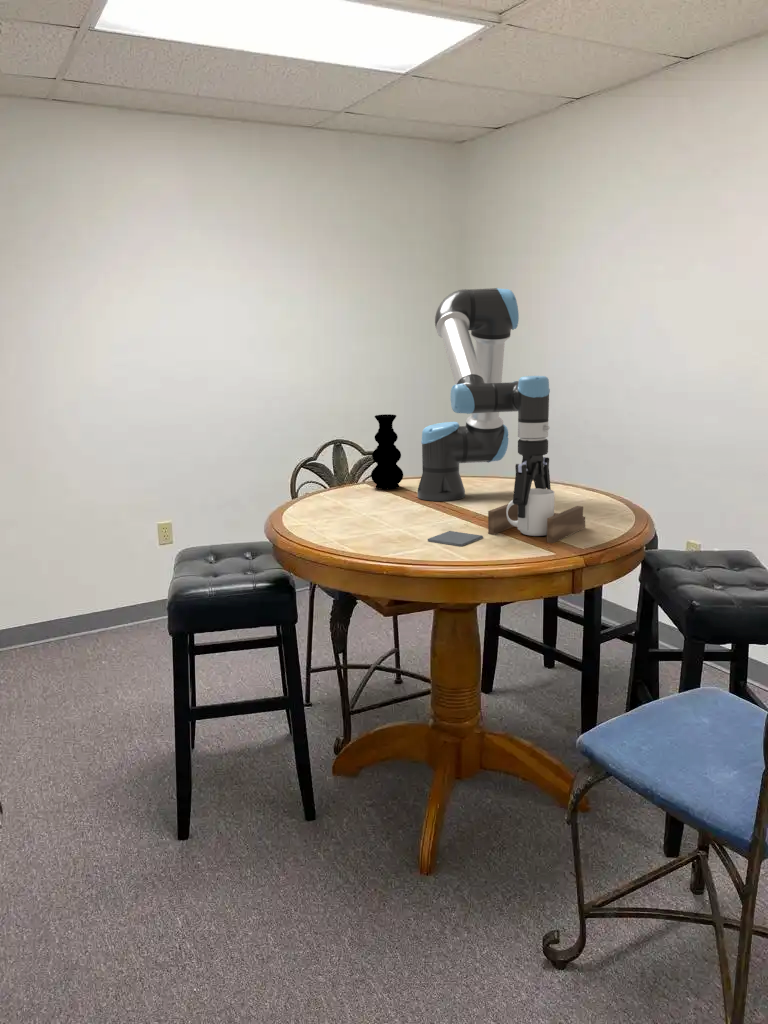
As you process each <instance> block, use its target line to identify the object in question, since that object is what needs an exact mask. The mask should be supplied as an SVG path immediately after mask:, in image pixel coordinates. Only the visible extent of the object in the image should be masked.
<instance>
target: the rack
mask: <svg viewBox="0 0 768 1024" xmlns="http://www.w3.org/2000/svg"><path fill="white" fill-rule="evenodd" d="M508 504H509V503H507V504H504V505H501V506H499V507H498V506H497V507H495V508H493V509H490V510H488V511H487V518H488V519H487V520H488V521H487V523H488V524H487V526H488V527H487V528H488V529H487V530H488V532H487V533H488V534H489V535H496V534H498V533H501V532H503V531H505V530H508V529H510V528H514V527H515V526H513V525H511V524H510V523H509V521H508V519H507V515H506V510H507V506H508ZM508 516H509V518H510V519H511V520H513V521H517V520H518V505H517V504H514V505H512V506H511V507H510V508H509V510H508ZM584 529H586V516H585V515H584V506H581V505H576V506H574V507H571V508H569V509H566V510H564V511H561V512H560V513H557V512H554V516H552V517H549V518H547V535H546V543H549V544H554V543H557V542H558V541H560V540H562V539H565V538H566V537H569V536H570V535H573V534H575V533H577V532H579V531H581V530H584Z"/></svg>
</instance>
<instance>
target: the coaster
mask: <svg viewBox="0 0 768 1024" xmlns="http://www.w3.org/2000/svg"><path fill="white" fill-rule="evenodd" d="M481 539H484V535H482V534H475V533H468V532H467V533H466V532H460V531H454V530H448V531H446V532H442V533H439V534H437V535H435V536H431V537H429V538H427V542H430V543H438V544H441V545H442V544H443V545H450V546H456V547H464V546H466V545H469V544H471V543H473V542H477V541H479V540H481Z"/></svg>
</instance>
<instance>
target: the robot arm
mask: <svg viewBox="0 0 768 1024" xmlns="http://www.w3.org/2000/svg"><path fill="white" fill-rule="evenodd" d="M519 319H520V317H519V306H518V302H517V299H516V295H515V293H514V292H513V291H512V290H511V289H508V288H499V287H496V288H495V287H494V288H474V289H466V288H465V289H463V288H462V289H458V290H454V291H452V292H451V293H449V294H448V295H447V296H446V297H445V298H443V300H442V301H441V302H440V303H439V306H438V307H437V309H436V313H435V316H434V325H435V330H436V334H438V336H439V337H440V338H441V339H442V342H443V344H444V345H443V346H444V348H445V353H446V356H447V359H448V363H449V368H450V372H451V374H452V377H453V381H454V385H452V387H451V389H450V406H451V410H452V412H454V413H456V414H467V415H469V416H468V417H467V418H466V419H465V420H466V421H465V425H463V426H462V425H461V426H460V424H459V422H457V421H444V422H438V423H433V424H430V425H427V426H426V427H424V428H423V429H422V432H421V454H422V455H421V458H422V459H421V461H422V464H421V465H422V468H421V469H422V473H421V477H420V481H419V484H418V488H417V492H416V493H417V498H418V499H421V500H423V501H431V502H433V501H434V502H435V501H436V502H441V501H442V502H445V501H455V500H460V499H463V498H465V497H466V489H465V487H464V483H463V480H462V477H461V474H460V464H465V463H467V464H469V463H491V462H498V461H501V460H502V459H503V458H504V457H505V455H506V453H507V449H508V445H509V429H508V427H507V425H506V424H504V420H503V419H502V418H501V417H500V413H506V412H507V413H508V412H510V413H511V412H517V437H518V438H519V439H518V440H517V454H518V455H520V456H522V460H521V463H515V475H514V476H515V478H514V486H513V496H512V500H513V503H514V504H517V505H518V527H517V530H518V531H520V530H525V531H528V530H529V505H527V502H528V497H529V493H530V488H532V484H533V483H534V488H541V489H550V490H552V488H551V478H550V457H548V456H547V457H546V456H545V455H547V454H548V453H549V440H548V437H549V430H550V425H549V414H550V412H549V411H550V392H551V391H550V390H551V389H550V381H549V377H547V376H545V375H523V376H521V377H519V379H518V380H516V381H515V380H513V381H511V382H502V381H503V369H504V368H503V367H504V356H505V343H506V341H507V340H508V339H510V337H511V331H513V330H516V329H517V327H518V325H519ZM471 337H472V338H473V339H474V341H475V347H474V344H473V340H472V338H471Z"/></svg>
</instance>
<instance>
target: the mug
mask: <svg viewBox="0 0 768 1024" xmlns="http://www.w3.org/2000/svg"><path fill="white" fill-rule="evenodd" d="M507 504H508V506H507V510H506V515H507V519H508V521H509V523H510V524H511V525H513V526H514V527H516V528H518V520H517V521H513V520H511V519H510V518H509V516H508V510H509V508H510V507H511V506H512V505H514V503H513V499H512V500H510V501H509V503H507ZM527 505H529V530H528V531H525V530H519V531H520V533H521V534H523V535H525V536H526V535H527V536H530V537H531V536H533V537H543V536H544V537H545V536H547V518H549V517H552V516H554V513H555V491H554V490H553V489H551V490H550V489H547V488H546V489H541V488H535V487H533V488H532V487H531V488H530V493H529V497H528V502H527Z"/></svg>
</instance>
